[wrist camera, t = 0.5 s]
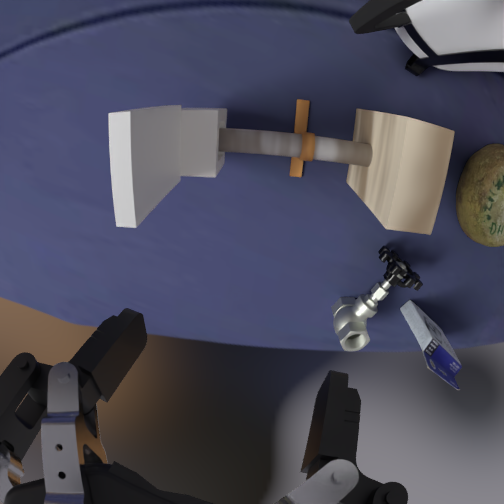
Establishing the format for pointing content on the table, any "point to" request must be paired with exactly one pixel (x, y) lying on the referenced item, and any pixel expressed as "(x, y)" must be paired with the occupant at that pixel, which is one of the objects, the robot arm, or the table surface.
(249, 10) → the table surface
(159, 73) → the table surface
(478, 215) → the weight
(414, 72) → the coffee press
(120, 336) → the robot arm
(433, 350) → the ink box
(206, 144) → the white upright panel
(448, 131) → the rod stand
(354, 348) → the valve
